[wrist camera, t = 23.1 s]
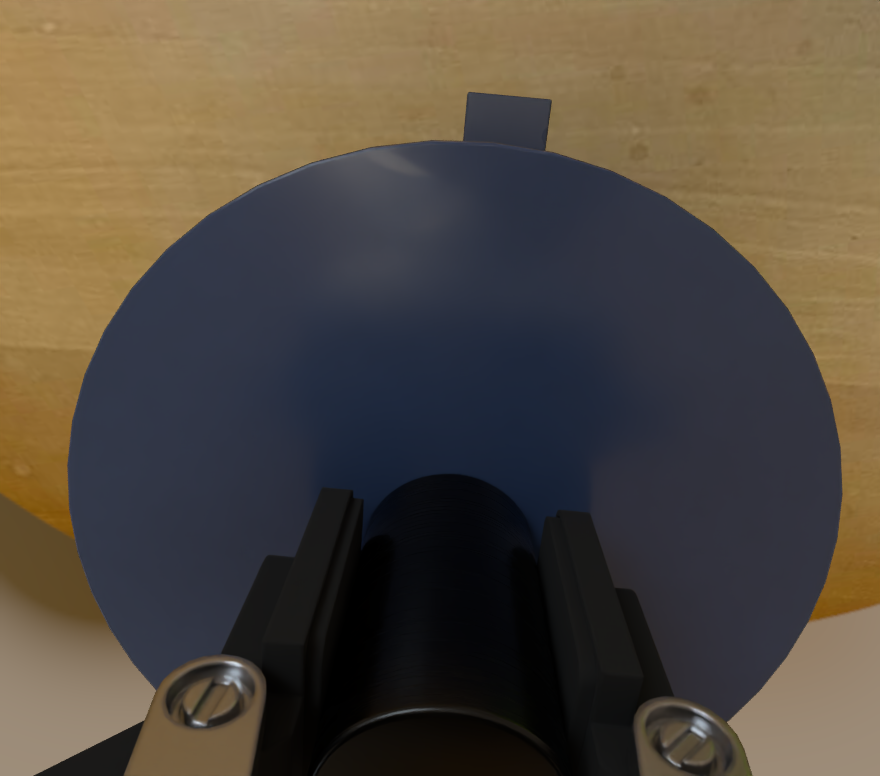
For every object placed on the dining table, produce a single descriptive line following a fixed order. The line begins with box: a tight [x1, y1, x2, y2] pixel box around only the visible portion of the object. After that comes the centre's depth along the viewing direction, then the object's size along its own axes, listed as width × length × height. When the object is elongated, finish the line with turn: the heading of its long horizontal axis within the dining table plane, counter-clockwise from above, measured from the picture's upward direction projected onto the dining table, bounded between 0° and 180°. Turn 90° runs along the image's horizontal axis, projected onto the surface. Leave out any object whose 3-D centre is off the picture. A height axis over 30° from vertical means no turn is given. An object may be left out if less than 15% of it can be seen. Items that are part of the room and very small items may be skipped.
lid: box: [67, 140, 842, 776], centre depth 11 cm, size 15×15×7 cm
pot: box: [463, 92, 552, 151], centre depth 26 cm, size 14×19×8 cm
